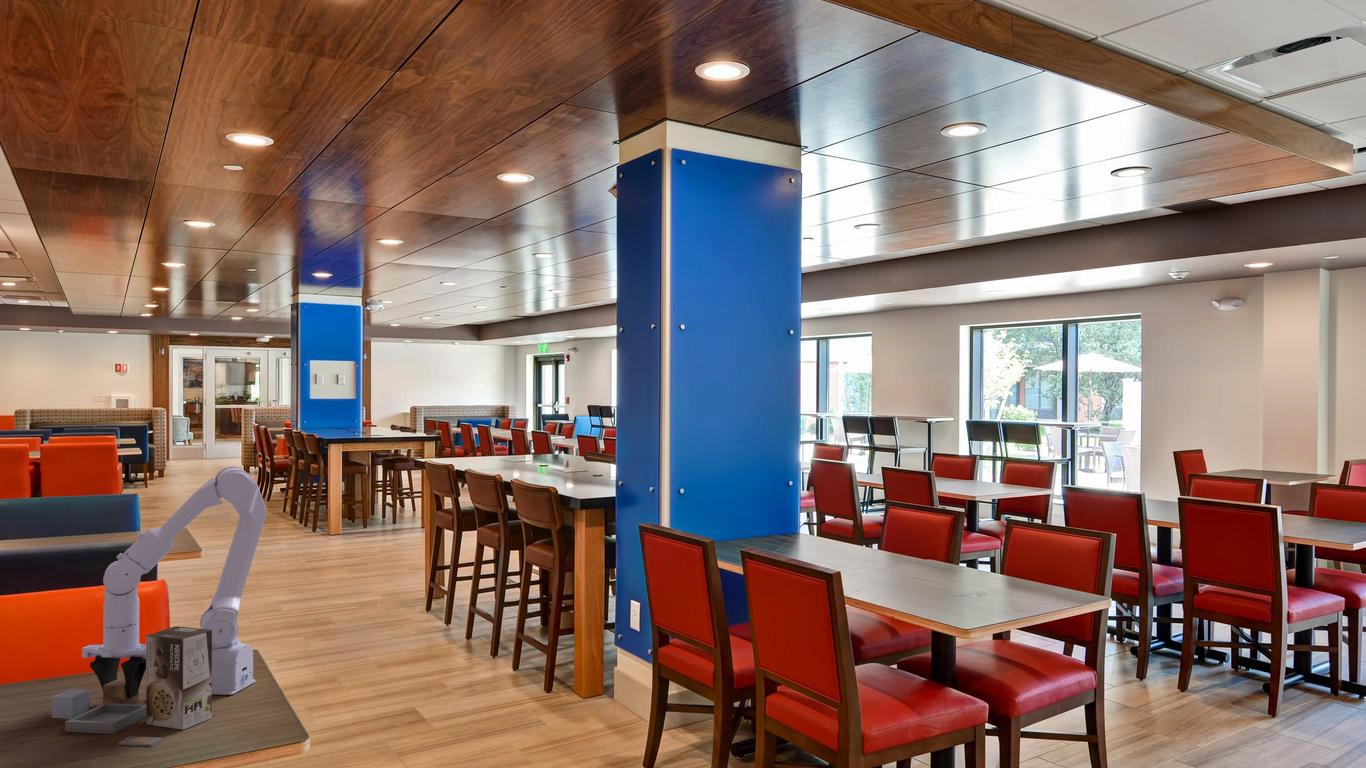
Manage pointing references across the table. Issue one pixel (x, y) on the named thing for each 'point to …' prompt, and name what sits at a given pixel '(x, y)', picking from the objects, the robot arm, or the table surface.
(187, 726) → the coffee box
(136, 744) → the label tile
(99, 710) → the parts tray
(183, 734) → the table surface
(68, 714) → the slate block
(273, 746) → the table surface
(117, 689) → the walnut block
